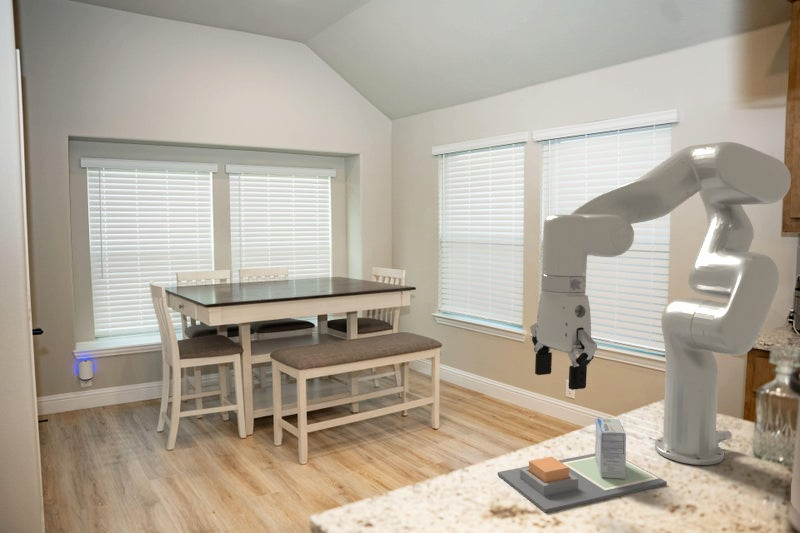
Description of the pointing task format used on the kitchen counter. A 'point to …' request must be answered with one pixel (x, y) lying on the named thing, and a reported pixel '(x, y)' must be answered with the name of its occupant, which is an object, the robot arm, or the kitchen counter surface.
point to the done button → (548, 469)
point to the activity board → (579, 484)
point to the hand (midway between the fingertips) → (559, 381)
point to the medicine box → (610, 448)
